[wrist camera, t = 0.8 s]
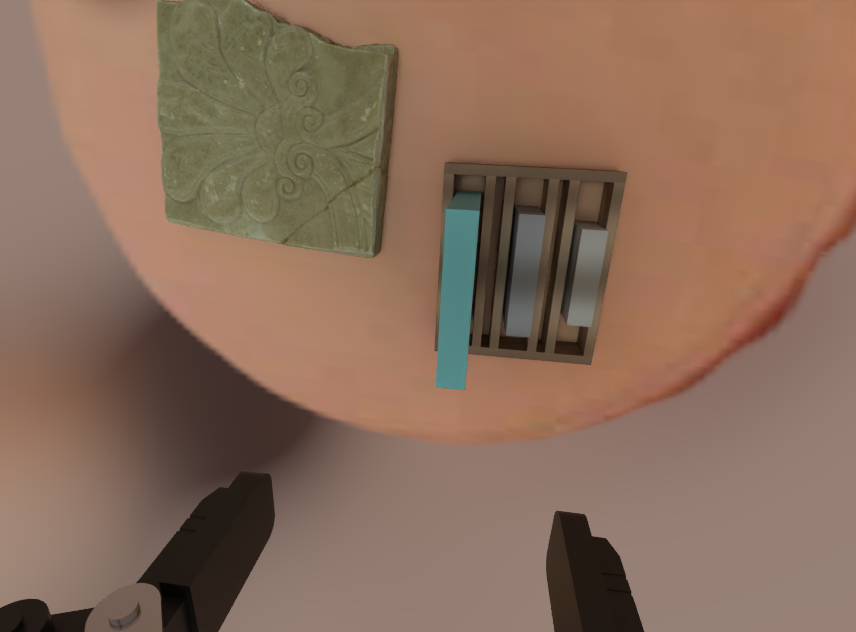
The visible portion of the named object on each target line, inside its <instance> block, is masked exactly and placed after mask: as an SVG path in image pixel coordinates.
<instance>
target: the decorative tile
mask: <svg viewBox="0 0 856 632" xmlns="http://www.w3.org/2000/svg"><path fill="white" fill-rule="evenodd" d="M157 39H158V59H159V81H158V86H157V97H158V103H157V116H158V125H159V128H160V131H161V139H162V151H163V154H162V161H161V166H162V182H163V188H164V191H165V216H166V218H167V220H168V222H171V223H175V224H180V225H185V226H190V227H195V228H200V229H205V230H210V231H215V232H220V233H225V234H229V235H235V236H240V237H246V238H252V239H257V240H263V241H269V242H275V243H279V244H285V245H288V246H294V247H301V248H306V249H313V250H319V251H326V252H333V253H339V254H345V255H352V256H359V257H366V258H373V257H375V256H376V255H377V254H378V253H379V252H380V248H381V241H382V230H383V217H384V208H385V199H386V187H387V171H388V161H389V152H390V145H391V136H392V123H393V110H394V98H395V89H396V78H397V65H398V52H397V48H396V47H395V46H393V45H385V44H382V45H379V44H372V45H362V46H357V47H356V48H351V47H349V46H343V45H341V44H338V43H333V42H332V41H330V40H329V39H328V38H327V37H322V36H321V35H320V34H316V33H314V32H313V31H311V30H310V29H308V28H304V27H302V26H298V25H290V24H289V23H288V22H286V21H285V20H284V19H283V18H280V17H274V16H273V15H272V14H270V13H269V12H266V11H263V10H261V9H259V8H258V7H257V6H255V5H253V4H251V3H250V2H249V1H248V0H184V1H182V2H174V1H165V0H158V1H157Z"/></svg>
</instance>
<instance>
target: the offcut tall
mask: <svg viewBox="0 0 856 632" xmlns="http://www.w3.org/2000/svg"><path fill="white" fill-rule="evenodd" d="M545 221H546V215H545V214H544V213H543V212H542V211H541V210H540V209H539V208H538V207H534V206H517V205H514V215H513V224H512V233H511V242H510V252H509V261H508V270H507V279H506V289H505V298H504V307H503V317H504V325H505V334H506V336H517V337H529V338H530V334H531V326H532V319H533V311H534V304H535V296H536V289H537V281H538V274H539V266H540V258H541V251H542V243H543V236H544V228H545Z"/></svg>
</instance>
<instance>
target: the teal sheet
mask: <svg viewBox="0 0 856 632" xmlns="http://www.w3.org/2000/svg"><path fill="white" fill-rule="evenodd" d="M480 201H481V192H477V191H458V192H457V194H456V195H455V196H454V198H453V199H452V201H451V202H450V204H449V205H448V207H447V208H446V216H445V234H444V251H443V269H442V286H441V304H440V321H439V339H438V356H437V374H436V387H439V388H449V389H459V390H465V383H466V371H467V359H468V347H469V335H470V323H471V310H472V298H473V286H474V274H475V262H476V250H477V238H478V226H479V213H480Z"/></svg>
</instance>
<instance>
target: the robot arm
mask: <svg viewBox="0 0 856 632" xmlns="http://www.w3.org/2000/svg"><path fill="white" fill-rule="evenodd" d="M274 518H275V511H274V500H273V491H272V480H271V476H270V474H267V473H259V472H251V471H242V472H240V473H239V474H238V476H237V477H236V479H235V480H234V481H233V482H232V484H231V485H230V486H229V488H222V487H220V488H218V489H217V490H216V491H214V492H213V493H211V494H210V495H208V496H207V497H206V498H204V499H203V500H202V501H201V502H200V503H199V505H198V506H197V507H196V509H195V510H194V511H193V512H192V514H191V515H190V518H188V519H187V520H186V521H185V522H184V524H183V525H182V526H181V528H180V530H179V531H177V532H176V534H175V535H174V536H173V538H172V539H171V540H170V541H169V543H168V544H167V545H166V547H165V548H164V549H163V550H162V551H161V553H160V554H159V555H158V556H157V558H156V559H155V560H154V562H153V563H152V564H151V565H150V567H149V568H148V569H147V570H146V572H145V573H144V574H143V575H142V577H141V578H140V579H139V581H137V583H136V584H131V585H128V586H125V587H122V588H120V589H118V590H116V591H114V592H112V593H111V594H109V595H108V596H107V597H105V598H104V599H103V600H102V601H101V602H99V604H98V605H96V607H94V608H90V609H84V610H78V611H72V612H66V613H59V614H54V615H51V614H50V612H49V609H48V607H47V605H46V603H44V602H43V601H41V600H38V599H26V600H20V601H17V602H13V603H11V604H8V605H6V606H4V607H1V608H0V632H218V631H219V629H220V628H221V626H222V624H223V622H224V620H225V618H226V616H227V614H228V613H229V611H230V609H231V607H232V606H233V604H234V602H235V600H236V598H237V596H238V594H239V593H240V591H241V589H242V587H243V585H244V584H245V582H246V580H247V578H248V576H249V574H250V572H251V571H252V569H253V567H254V565H255V563H256V562H257V560H258V558H259V556H260V554H261V552H262V551H263V549H264V547H265V545H266V543H267V541H268V539H269V538H270V535H271V532H272V529H273V526H274ZM546 571H547V572H546V573H547V582H548V589H549V596H550V603H551V610H552V617H553V624H554V631H555V632H644V630H643V627H642V623H641V621H640V617H639V614H638V611H637V608H636V605H635V602H634V599H633V597H632V596H631V590H630V587H629V584H628V581H627V580H626V575H625V571H624V569H623V565H622V562H621V559H620V556H619V555H618V553H617V552H616V551H615V550H614V548H613V547H612V546H611V544H610V543H609V542H608V540H607V539H606V538H599V537H593V536H592V535H591V532H590V528H589V524H588V521H587V518H586V516H585V515H584V514H579V513H570V512H563V511H556V512H555V515H554V519H553V525H552V530H551V535H550V540H549V546H548V551H547V559H546Z"/></svg>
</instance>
